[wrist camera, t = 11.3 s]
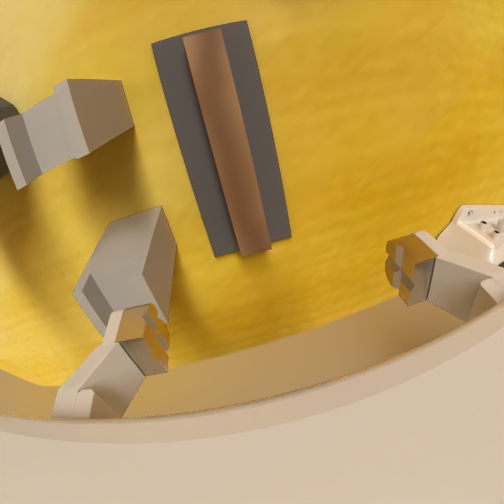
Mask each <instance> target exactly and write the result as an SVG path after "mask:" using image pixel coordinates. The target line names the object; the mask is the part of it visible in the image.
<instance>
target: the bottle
mask: <svg viewBox="0 0 504 504" xmlns="http://www.w3.org/2000/svg"><path fill="white" fill-rule="evenodd" d="M16 115H19V114H18V112H17V110H16V108H15V107H14V105H13V104H11V103H9V102H8V101H6V100H4V99H2V98H1V97H0V122H1V121H2V120H3V119H6V118H9V117H13V116H16ZM8 172H10V171H9V168H8V165H7V162H6V160H5V157H4V154H3V151H2V148H1V145H0V179H1V178H2V177H3V176H4V175H6V174H7V173H8Z"/></svg>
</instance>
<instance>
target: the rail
mask: <svg viewBox="0 0 504 504" xmlns="http://www.w3.org/2000/svg"><path fill="white" fill-rule="evenodd" d="M183 42H184V46H185V50H186V54H187V57H188V61H189V65H190V69H191V73H192V77H193V80H194V84H195V88H196V92H197V96H198V99H199V103H200V107H201V111H202V114H203V118H204V122H205V126H206V129H207V133H208V137H209V140H210V144H211V148H212V152H213V155H214V159H215V163H216V166H217V170H218V174H219V177H220V181H221V184H222V188H223V192H224V195H225V199H226V203H227V206H228V210H229V213H230V217H231V221H232V224H233V228H234V231H235V235H236V238H237V242H238V245H239V249H240V253H241V256H242V257H243V256H247V255H251V254H255V253H258V252H262V251H266V250H270V249H272V247H271V243H270V238H269V233H268V229H267V224H266V219H265V215H264V210H263V206H262V201H261V196H260V192H259V187H258V183H257V178H256V174H255V170H254V165H253V161H252V156H251V152H250V148H249V143H248V139H247V135H246V130H245V126H244V122H243V118H242V113H241V109H240V105H239V101H238V97H237V92H236V88H235V84H234V80H233V76H232V72H231V68H230V64H229V60H228V56H227V52H226V48H225V44H224V40H223V36H222V32H221V28H220V29H215V30H210V31H206V32H202V33H198V34H194V35H190V36H186V37H183Z"/></svg>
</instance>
